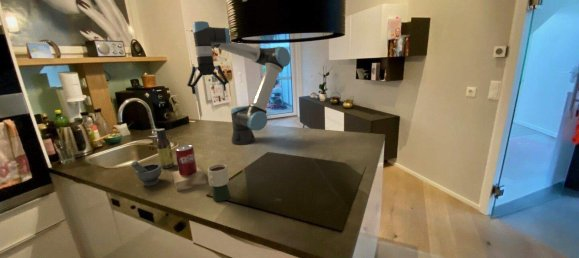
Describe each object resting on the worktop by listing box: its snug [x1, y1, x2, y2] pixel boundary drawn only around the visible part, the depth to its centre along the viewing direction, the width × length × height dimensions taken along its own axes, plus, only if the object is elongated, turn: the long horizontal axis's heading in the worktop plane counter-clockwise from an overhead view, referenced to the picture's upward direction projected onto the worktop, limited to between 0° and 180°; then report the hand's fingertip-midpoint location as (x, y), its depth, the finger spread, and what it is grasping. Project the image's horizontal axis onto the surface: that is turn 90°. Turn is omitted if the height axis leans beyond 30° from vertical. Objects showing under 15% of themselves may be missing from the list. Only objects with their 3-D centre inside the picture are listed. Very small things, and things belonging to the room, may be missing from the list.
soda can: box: [174, 144, 197, 177], centre depth 103 cm, size 7×7×12 cm
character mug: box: [207, 163, 231, 202], centre depth 90 cm, size 11×7×13 cm, turn 161°
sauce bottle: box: [155, 128, 175, 169], centre depth 121 cm, size 6×6×20 cm
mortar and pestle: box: [130, 160, 162, 187], centre depth 105 cm, size 11×9×12 cm
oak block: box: [171, 165, 208, 192], centre depth 105 cm, size 12×12×4 cm
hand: (210, 98), depth 123 cm, fingers open, 13 cm apart
